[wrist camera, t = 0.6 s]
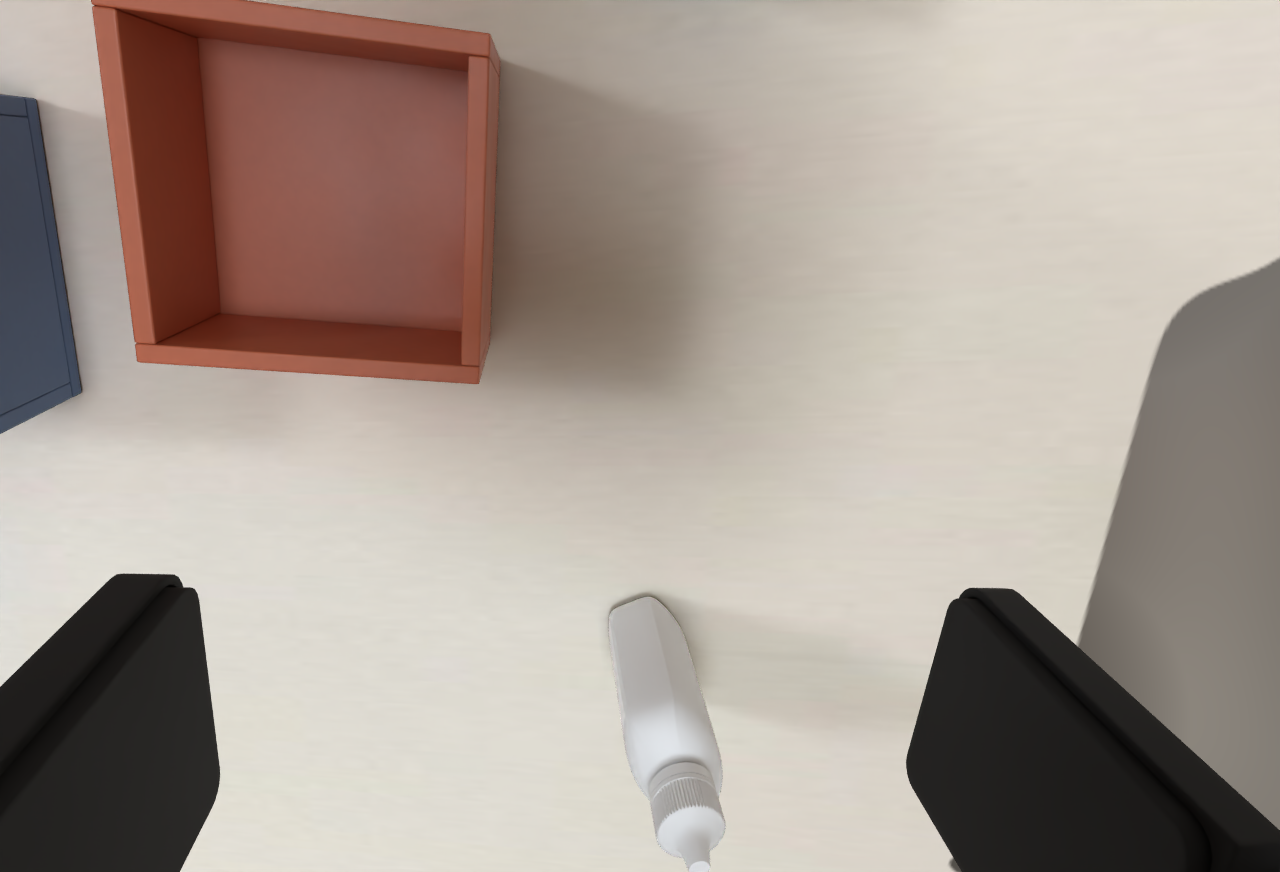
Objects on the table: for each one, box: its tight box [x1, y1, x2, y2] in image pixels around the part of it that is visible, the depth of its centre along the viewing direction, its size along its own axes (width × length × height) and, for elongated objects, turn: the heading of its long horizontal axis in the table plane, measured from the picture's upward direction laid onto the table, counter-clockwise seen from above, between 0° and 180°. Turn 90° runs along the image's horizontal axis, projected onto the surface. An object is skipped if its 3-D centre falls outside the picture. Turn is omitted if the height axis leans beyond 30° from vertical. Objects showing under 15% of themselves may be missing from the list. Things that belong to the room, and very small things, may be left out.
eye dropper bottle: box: [608, 597, 726, 872], centre depth 30 cm, size 4×6×12 cm
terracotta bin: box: [91, 0, 500, 384], centre depth 24 cm, size 10×10×6 cm
